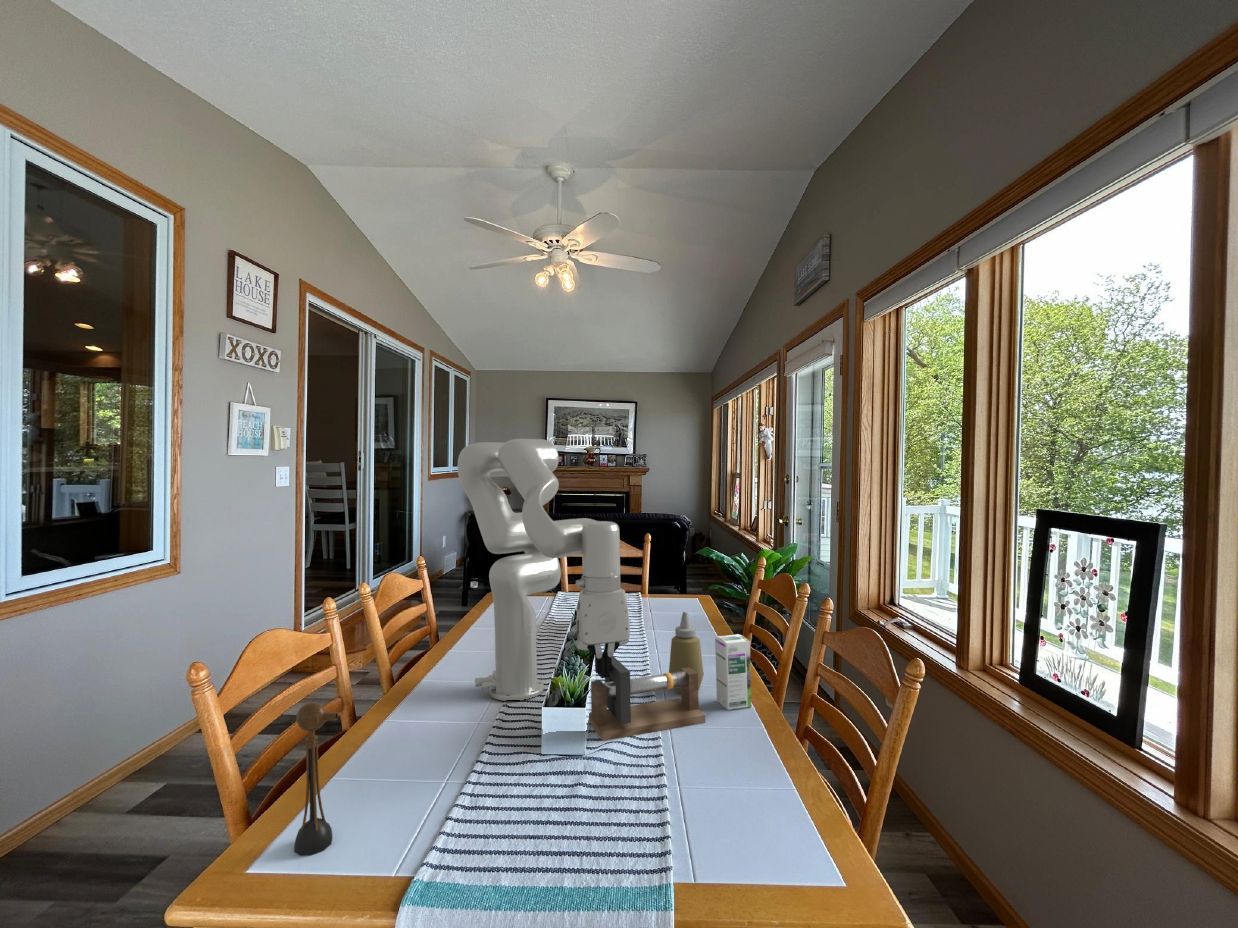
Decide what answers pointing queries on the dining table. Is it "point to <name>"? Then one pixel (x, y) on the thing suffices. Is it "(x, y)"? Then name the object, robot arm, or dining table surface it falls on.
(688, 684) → the pipe stand
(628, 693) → the dark grey square plate
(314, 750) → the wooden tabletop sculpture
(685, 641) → the squeeze bottle
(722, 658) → the syrup box
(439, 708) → the dining table surface
